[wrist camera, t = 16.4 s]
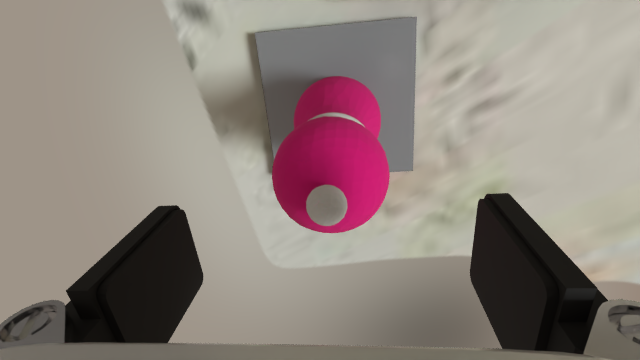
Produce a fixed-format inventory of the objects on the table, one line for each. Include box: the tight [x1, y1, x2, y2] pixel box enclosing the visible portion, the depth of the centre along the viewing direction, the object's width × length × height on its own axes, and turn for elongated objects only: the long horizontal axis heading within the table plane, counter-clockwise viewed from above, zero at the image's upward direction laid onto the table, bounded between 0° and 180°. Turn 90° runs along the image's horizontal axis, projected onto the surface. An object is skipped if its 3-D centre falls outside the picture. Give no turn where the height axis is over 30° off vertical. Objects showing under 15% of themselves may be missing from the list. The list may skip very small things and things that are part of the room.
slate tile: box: [255, 17, 417, 172], centre depth 32 cm, size 14×14×1 cm
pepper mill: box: [272, 76, 390, 233], centre depth 23 cm, size 7×7×20 cm
